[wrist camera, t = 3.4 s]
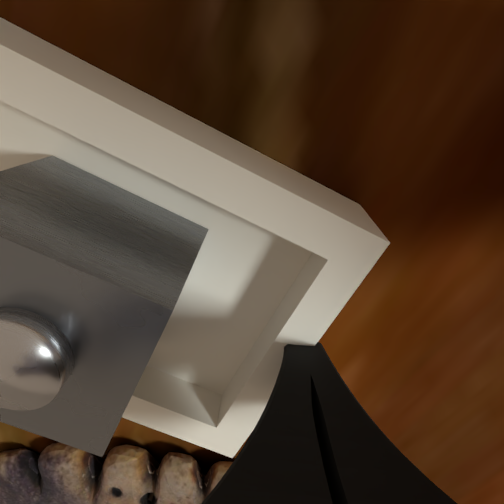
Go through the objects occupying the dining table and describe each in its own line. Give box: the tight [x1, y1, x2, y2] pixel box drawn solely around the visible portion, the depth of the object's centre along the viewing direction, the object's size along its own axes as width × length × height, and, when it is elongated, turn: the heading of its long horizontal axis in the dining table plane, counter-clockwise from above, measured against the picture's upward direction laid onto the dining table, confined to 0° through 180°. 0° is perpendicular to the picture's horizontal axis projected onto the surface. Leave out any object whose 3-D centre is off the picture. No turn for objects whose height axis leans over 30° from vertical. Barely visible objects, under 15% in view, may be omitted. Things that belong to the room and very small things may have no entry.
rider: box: [0, 155, 208, 457], centre depth 9 cm, size 5×5×5 cm
